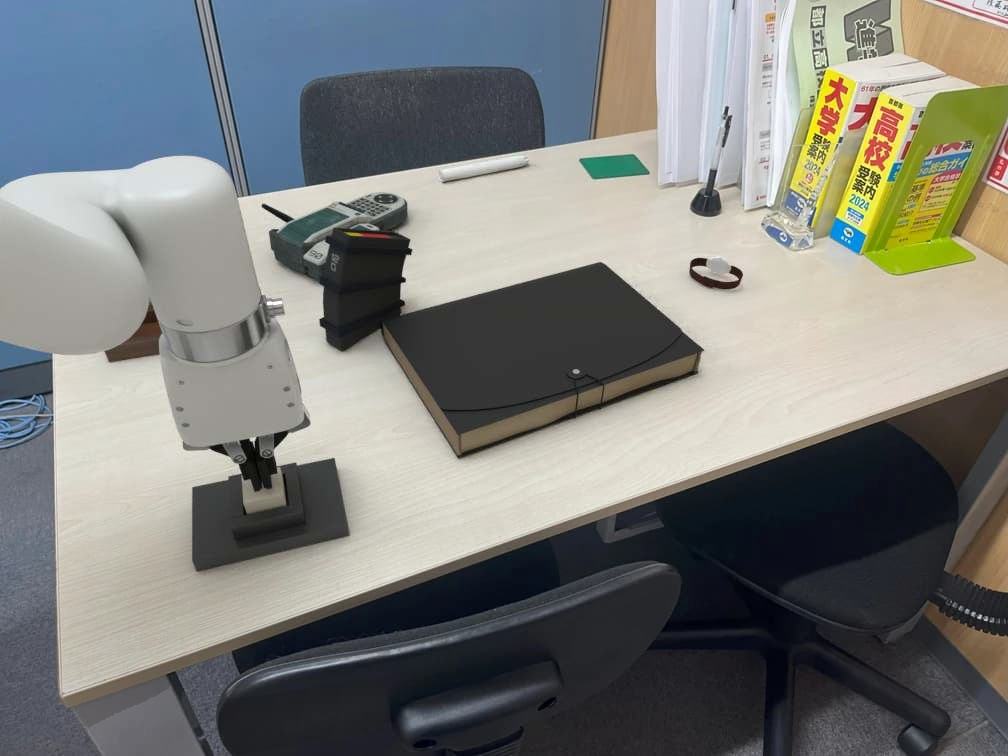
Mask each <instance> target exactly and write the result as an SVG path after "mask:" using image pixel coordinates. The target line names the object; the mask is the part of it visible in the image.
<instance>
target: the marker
mask: <svg viewBox="0 0 1008 756" xmlns="http://www.w3.org/2000/svg"><path fill="white" fill-rule="evenodd" d="M530 160H531V158H529V157H528V156H526V155H514V156H509V157H503V158H497V159H492V160H491V159H489V160H485V161H481V162H474V163H471V164H465V165H460V166H454V167H449V168H442V169H439V171H438V177H439V181H440V182H441V183H444V182H450V181H454V180H460V179H465V178H470V177H477V176H481V175H486V174H490V173H491V174H492V173H496V172H502V171H508V170H513V169H517V168H521V167H524V166H526V165H527V164H528V163H529V162H530Z"/></svg>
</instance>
